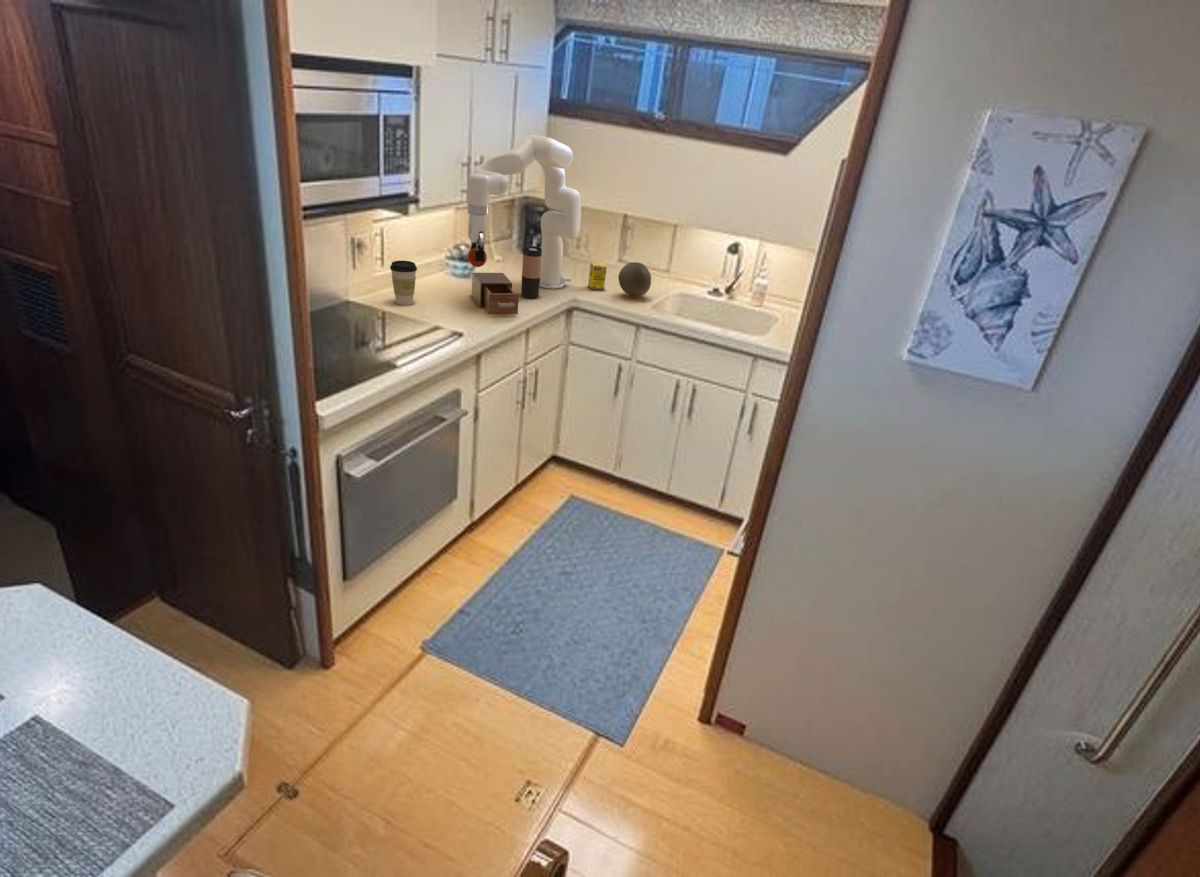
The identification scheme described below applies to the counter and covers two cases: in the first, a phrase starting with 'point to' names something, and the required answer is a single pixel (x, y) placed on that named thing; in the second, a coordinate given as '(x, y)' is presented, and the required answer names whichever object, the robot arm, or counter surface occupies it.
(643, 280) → the dark grey ball
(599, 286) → the supplement box
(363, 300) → the counter surface
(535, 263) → the travel mug
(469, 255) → the fruit
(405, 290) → the coffee cup
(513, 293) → the drawer
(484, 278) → the cabinet
